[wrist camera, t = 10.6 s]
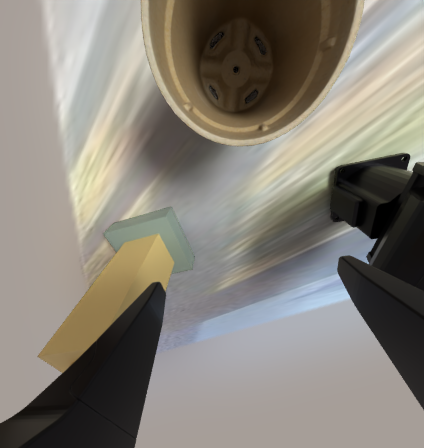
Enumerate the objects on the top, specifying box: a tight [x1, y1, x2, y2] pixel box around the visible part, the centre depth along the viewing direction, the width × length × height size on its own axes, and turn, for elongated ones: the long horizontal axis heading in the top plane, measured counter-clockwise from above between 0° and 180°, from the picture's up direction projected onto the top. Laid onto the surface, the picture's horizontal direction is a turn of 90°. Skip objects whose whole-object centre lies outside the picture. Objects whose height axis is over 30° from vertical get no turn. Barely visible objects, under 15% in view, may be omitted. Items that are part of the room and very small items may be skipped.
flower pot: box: [141, 0, 365, 146], centre depth 12 cm, size 9×9×9 cm
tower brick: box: [38, 234, 174, 373], centre depth 17 cm, size 4×4×13 cm
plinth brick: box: [103, 207, 195, 274], centre depth 23 cm, size 8×8×2 cm
